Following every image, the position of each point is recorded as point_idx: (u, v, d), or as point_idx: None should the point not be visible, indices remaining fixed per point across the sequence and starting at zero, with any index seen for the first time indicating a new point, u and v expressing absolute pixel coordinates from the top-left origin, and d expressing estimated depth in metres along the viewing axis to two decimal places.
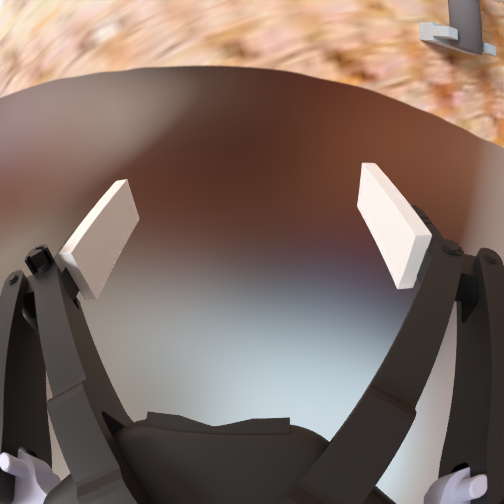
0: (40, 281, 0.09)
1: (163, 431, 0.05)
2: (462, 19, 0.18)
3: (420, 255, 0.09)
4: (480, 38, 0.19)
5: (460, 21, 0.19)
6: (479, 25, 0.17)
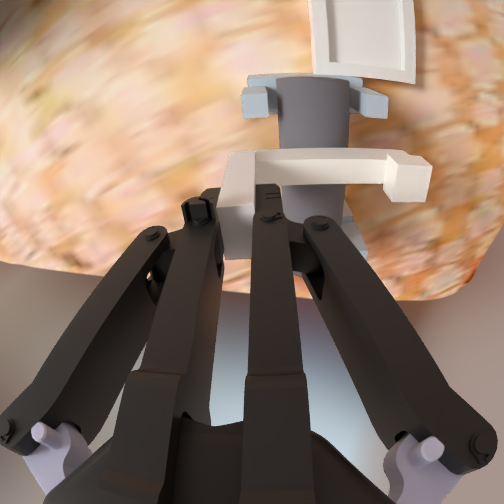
0: (189, 234, 0.10)
1: None
2: None
3: (249, 225, 0.12)
4: None
5: None
6: None
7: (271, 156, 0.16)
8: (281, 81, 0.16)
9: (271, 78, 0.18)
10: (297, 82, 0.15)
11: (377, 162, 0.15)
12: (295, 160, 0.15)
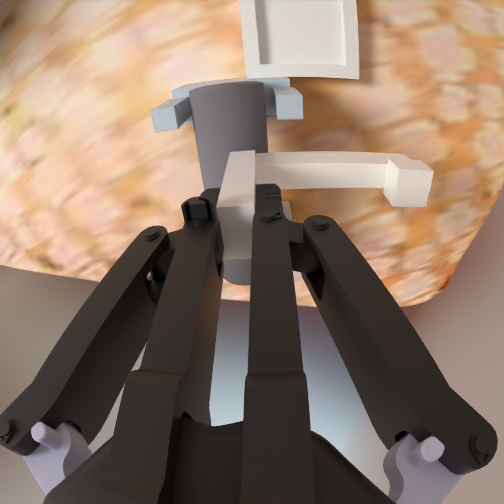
0: (190, 234, 0.10)
1: None
2: None
3: (249, 225, 0.12)
4: None
5: None
6: None
7: (271, 160, 0.16)
8: (190, 92, 0.16)
9: (194, 88, 0.19)
10: (201, 92, 0.15)
11: (378, 166, 0.15)
12: (295, 164, 0.15)
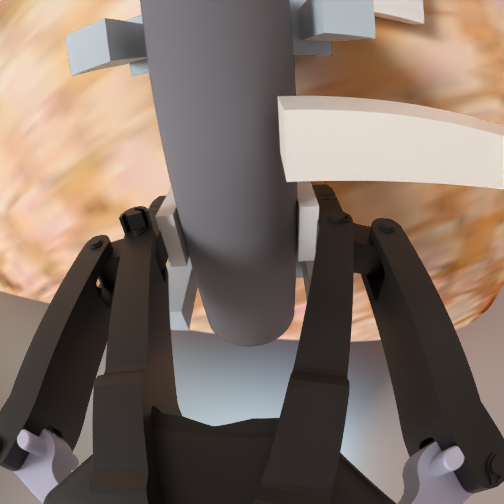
0: (130, 243, 0.10)
1: (163, 431, 0.05)
2: (198, 277, 0.12)
3: (312, 227, 0.11)
4: (266, 315, 0.13)
5: (197, 279, 0.13)
6: (261, 285, 0.12)
7: (324, 104, 0.05)
8: None
9: None
10: None
11: None
12: (390, 115, 0.05)
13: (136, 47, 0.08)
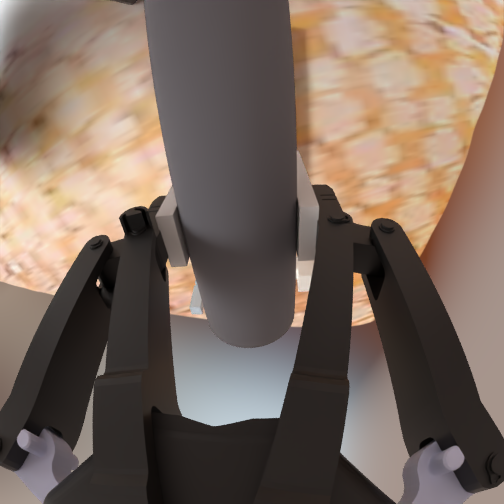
0: (131, 243, 0.10)
1: (163, 431, 0.05)
2: (199, 277, 0.12)
3: (311, 227, 0.11)
4: (268, 315, 0.13)
5: (198, 279, 0.13)
6: (263, 284, 0.12)
7: None
8: None
9: None
10: None
11: None
12: None
13: None
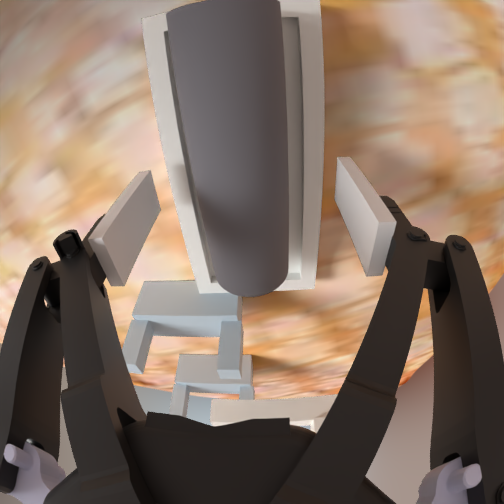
0: (67, 266, 0.09)
1: (163, 431, 0.05)
2: (210, 235, 0.16)
3: (386, 242, 0.10)
4: (266, 266, 0.16)
5: (209, 238, 0.16)
6: (262, 239, 0.15)
7: (222, 414, 0.19)
8: (168, 14, 0.08)
9: (151, 316, 0.22)
10: (184, 7, 0.07)
11: (305, 421, 0.18)
12: None
13: (146, 347, 0.22)
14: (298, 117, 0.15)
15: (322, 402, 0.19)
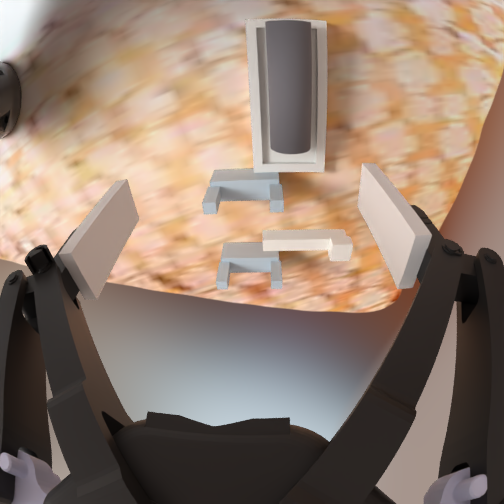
0: (40, 281, 0.09)
1: (163, 431, 0.05)
2: (275, 117, 0.30)
3: (420, 255, 0.09)
4: (301, 135, 0.30)
5: (273, 120, 0.30)
6: (300, 118, 0.29)
7: (270, 236, 0.33)
8: (268, 21, 0.22)
9: (223, 181, 0.36)
10: (277, 20, 0.22)
11: (324, 240, 0.33)
12: (282, 240, 0.33)
13: (218, 201, 0.36)
14: (315, 73, 0.30)
15: (334, 232, 0.33)
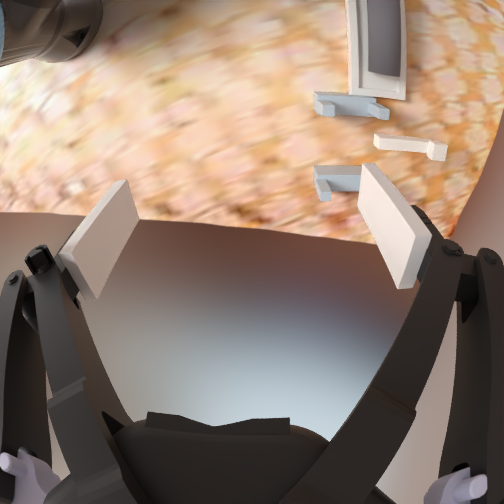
0: (40, 281, 0.09)
1: (163, 431, 0.05)
2: (377, 46, 0.29)
3: (420, 255, 0.09)
4: (397, 62, 0.29)
5: (375, 48, 0.29)
6: (396, 49, 0.28)
7: (384, 136, 0.32)
8: None
9: (330, 96, 0.35)
10: None
11: (425, 143, 0.31)
12: (394, 139, 0.32)
13: None
14: None
15: (428, 139, 0.32)
